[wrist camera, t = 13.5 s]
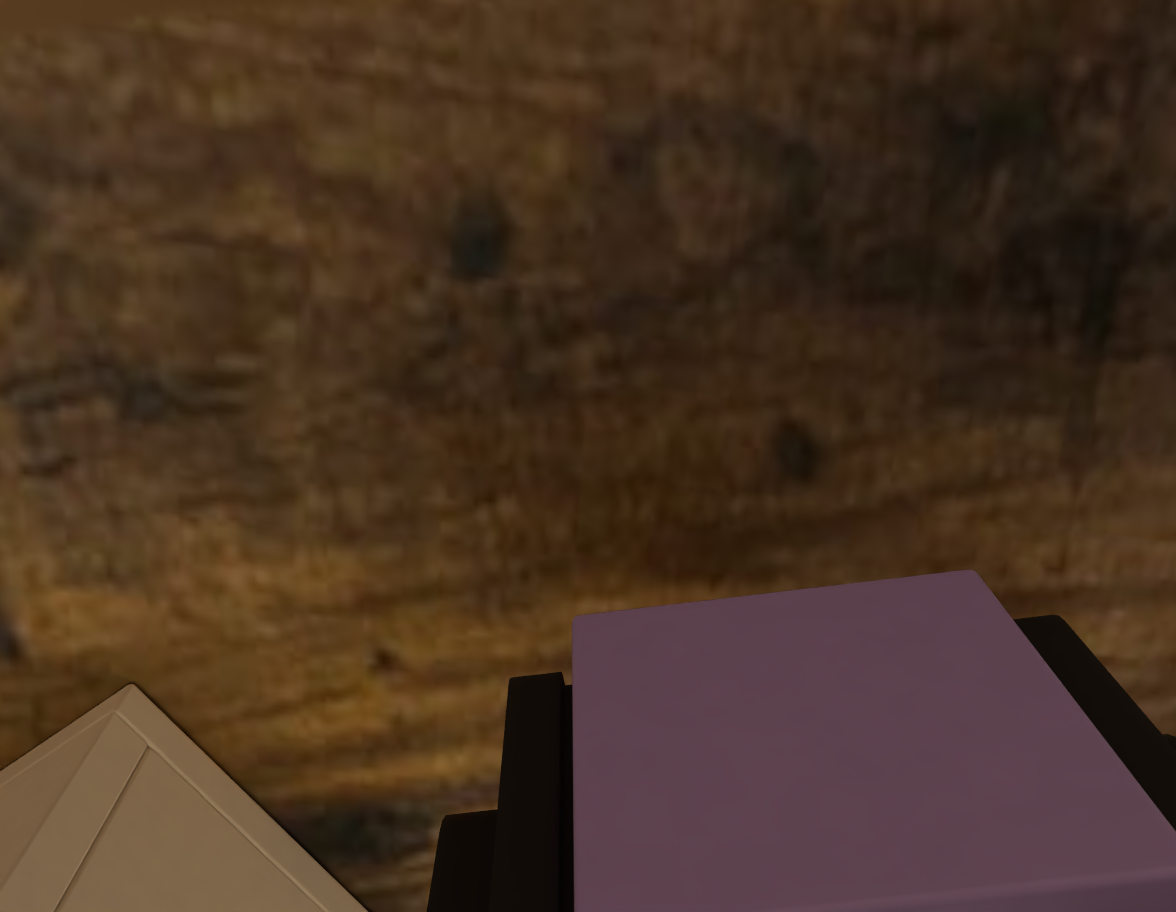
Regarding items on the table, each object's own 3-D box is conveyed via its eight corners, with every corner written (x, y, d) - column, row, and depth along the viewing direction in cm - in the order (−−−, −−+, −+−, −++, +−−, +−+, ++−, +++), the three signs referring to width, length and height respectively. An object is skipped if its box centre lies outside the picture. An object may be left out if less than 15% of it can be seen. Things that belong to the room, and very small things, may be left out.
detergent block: (976, 566, 10) (1211, 869, 6) (969, 878, 12) (1157, 1270, 8) (570, 613, 10) (573, 937, 7) (616, 916, 12) (639, 1322, 8)
